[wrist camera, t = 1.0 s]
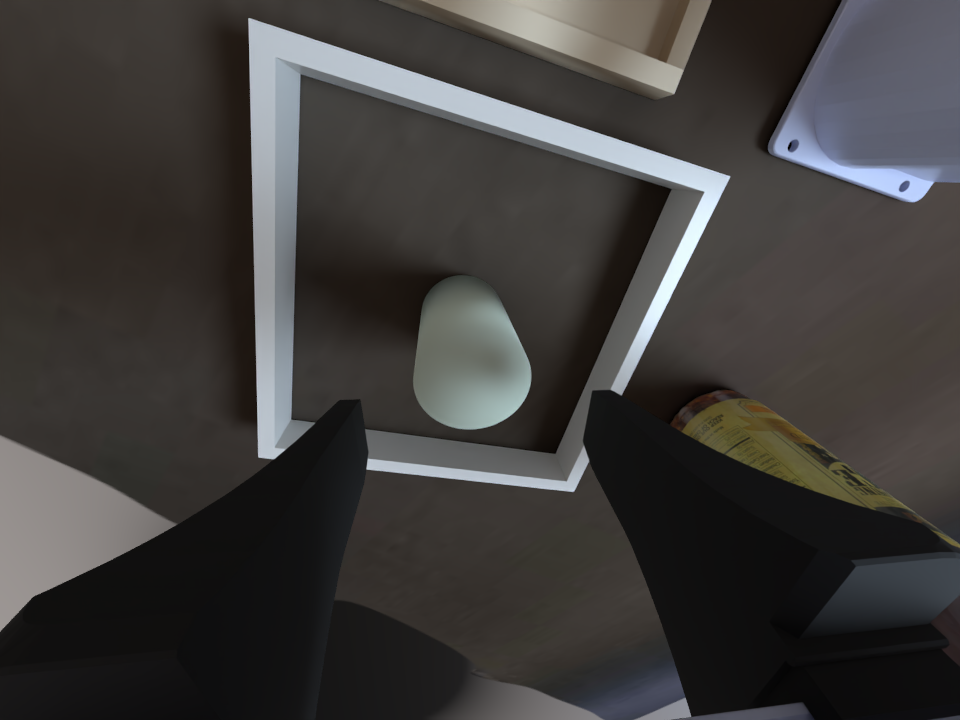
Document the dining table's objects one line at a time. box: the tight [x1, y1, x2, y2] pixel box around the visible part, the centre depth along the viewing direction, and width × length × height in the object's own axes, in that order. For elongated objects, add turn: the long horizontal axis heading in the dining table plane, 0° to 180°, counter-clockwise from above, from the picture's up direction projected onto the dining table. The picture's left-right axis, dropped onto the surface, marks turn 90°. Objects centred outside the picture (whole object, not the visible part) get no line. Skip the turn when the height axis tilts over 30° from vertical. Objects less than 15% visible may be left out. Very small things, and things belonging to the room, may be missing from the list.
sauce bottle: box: [670, 390, 960, 666], centre depth 16 cm, size 6×6×20 cm
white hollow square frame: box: [248, 18, 730, 492], centre depth 19 cm, size 19×19×2 cm
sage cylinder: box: [413, 275, 531, 429], centre depth 17 cm, size 4×4×7 cm
